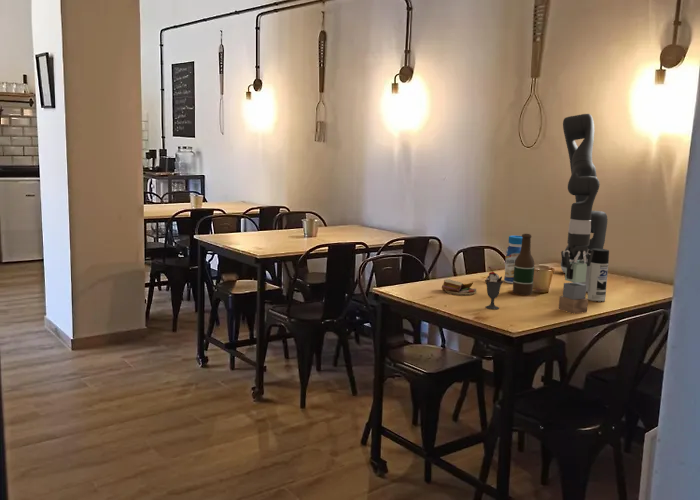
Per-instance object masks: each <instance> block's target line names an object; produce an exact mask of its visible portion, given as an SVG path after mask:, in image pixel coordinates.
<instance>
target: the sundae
mask: <svg viewBox="0 0 700 500" xmlns="http://www.w3.org/2000/svg"><path fill="white" fill-rule="evenodd" d="M488 269H490V272H489V273H488V275H487V277H486V279H484V282H485V283H486V292H487V293H486V294H487V296H488V297H489V298H490V302H489V303H490V304H488V305H486V306H485V309H487V310H499V309H500V307H499V306H496V305H495V299H497V298H498V296H499V294H500V290H501V286H502V284H503V283H504V279H503V275H502V276H499V274H498V273H495V272H494V271H493V269H492V268H491V266H489V267H488ZM502 279H503V280H502Z"/></svg>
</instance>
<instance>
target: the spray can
mask: <svg viewBox="0 0 700 500" xmlns="http://www.w3.org/2000/svg"><path fill="white" fill-rule="evenodd" d="M592 250H593V251H594V253H593V256H592V260H591V264H590V271H589V284H588V292H587V296H586V297H587V298H586V299H588V301H592V302H596V301H598V303H600V302H601V301H602V302H605V301H606V296H607V294H606V293H607V285H608V273H609V258H610V250H609V249H606V248H603V249H599V248H595V249H592Z"/></svg>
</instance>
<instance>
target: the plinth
mask: <svg viewBox="0 0 700 500" xmlns="http://www.w3.org/2000/svg"><path fill="white" fill-rule="evenodd" d="M558 300H559V301H558V310H559V309H560V311H563V312H566V311H567V312H566V313H568V314H572V313H573V315H575V314H582V312H583V313H587V312H588V308H589V307H588V305H589V300H588V298H586V297H585V299H577V300H573V299H569V298H566V297H563V295H561V296H559V299H558ZM574 313H575V314H574Z"/></svg>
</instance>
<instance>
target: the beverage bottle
mask: <svg viewBox="0 0 700 500" xmlns="http://www.w3.org/2000/svg"><path fill="white" fill-rule="evenodd" d="M508 244H509V245H508V247H507V248H506V250H505V252H506V255H505V257H504V259H505V265H504V266H505V267H504V278H503V282H505V283H508V284H513V278H514V265H515V260H516V258H517V257H518V255H519V254H520V251H521V244H522V235H509V236H508Z"/></svg>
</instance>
